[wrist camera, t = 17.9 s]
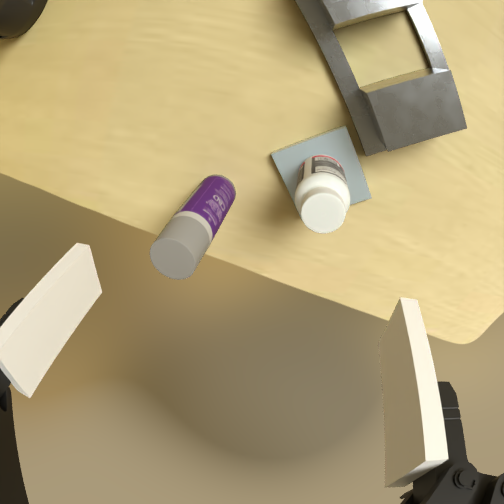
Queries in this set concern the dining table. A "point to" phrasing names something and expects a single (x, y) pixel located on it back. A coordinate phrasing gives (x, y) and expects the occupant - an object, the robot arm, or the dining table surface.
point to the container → (192, 228)
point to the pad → (328, 144)
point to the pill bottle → (322, 193)
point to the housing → (393, 89)
